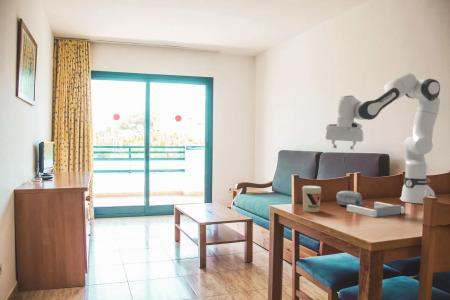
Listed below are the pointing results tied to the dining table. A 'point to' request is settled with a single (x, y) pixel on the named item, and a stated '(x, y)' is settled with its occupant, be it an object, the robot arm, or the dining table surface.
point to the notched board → (377, 209)
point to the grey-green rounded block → (349, 198)
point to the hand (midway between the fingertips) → (343, 148)
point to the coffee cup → (311, 198)
